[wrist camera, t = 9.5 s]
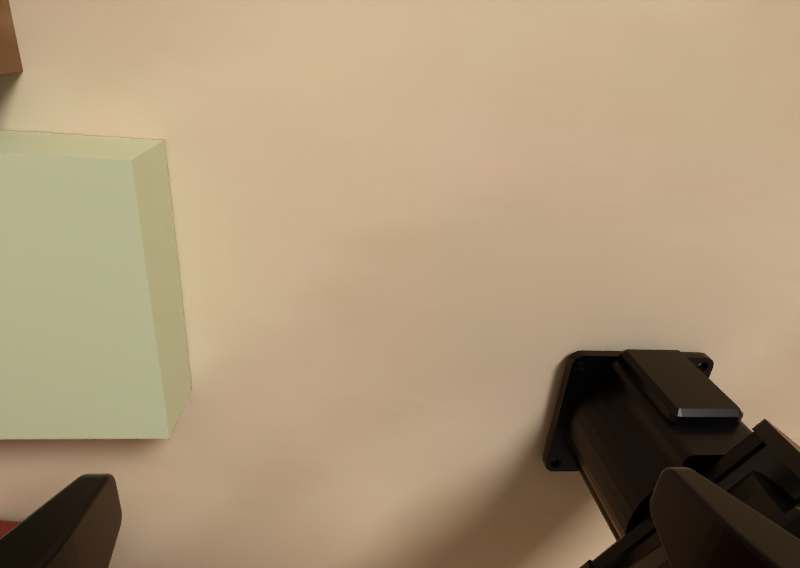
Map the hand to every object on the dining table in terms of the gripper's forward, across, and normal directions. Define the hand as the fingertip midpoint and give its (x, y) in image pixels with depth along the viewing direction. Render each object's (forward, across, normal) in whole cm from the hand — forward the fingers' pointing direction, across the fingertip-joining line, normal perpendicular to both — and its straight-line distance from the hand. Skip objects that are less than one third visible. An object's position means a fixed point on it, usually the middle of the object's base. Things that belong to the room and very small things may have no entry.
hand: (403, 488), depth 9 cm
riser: (+12, +13, +2) cm, 18 cm away
